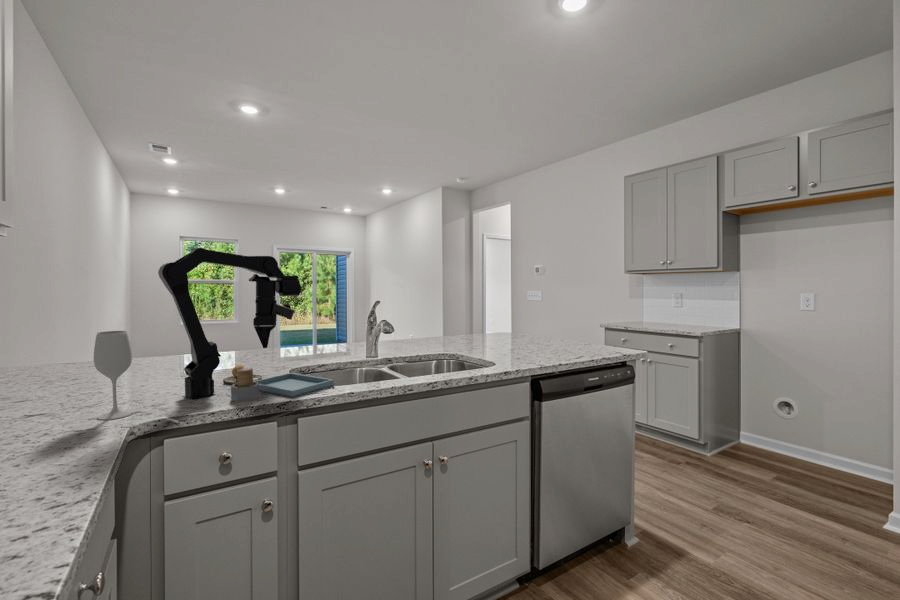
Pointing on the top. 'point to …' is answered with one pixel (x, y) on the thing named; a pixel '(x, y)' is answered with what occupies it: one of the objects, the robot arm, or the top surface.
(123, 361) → the wineglass
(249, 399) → the cup
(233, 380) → the burger
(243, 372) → the peg
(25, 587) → the top surface
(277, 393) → the tray
